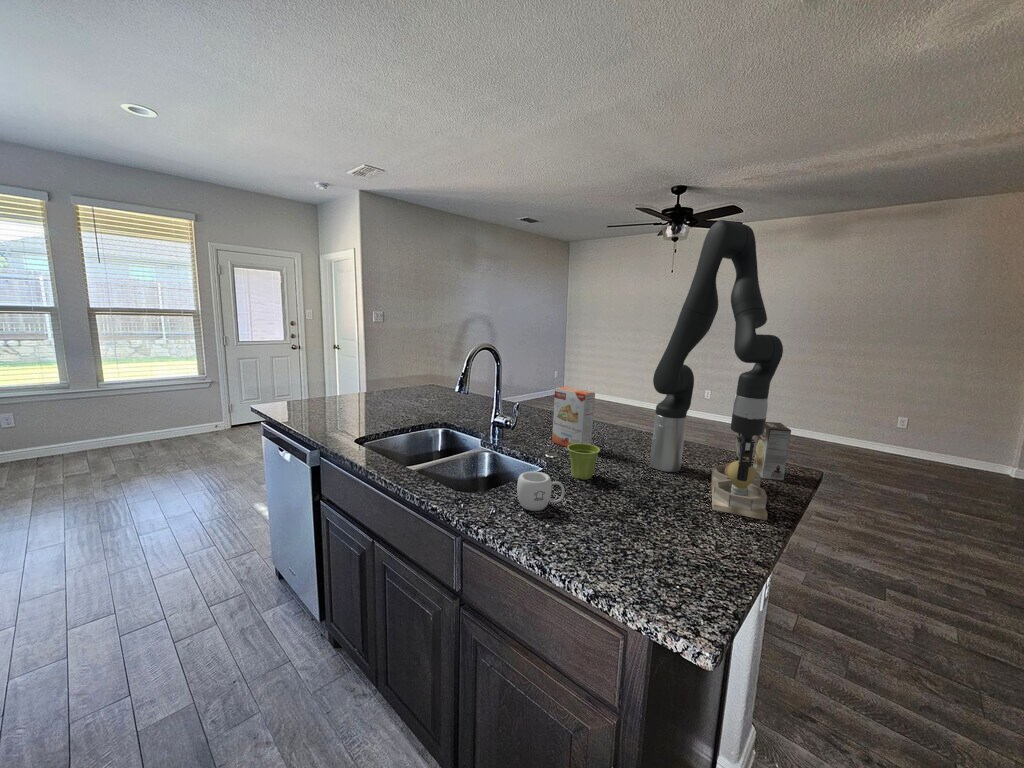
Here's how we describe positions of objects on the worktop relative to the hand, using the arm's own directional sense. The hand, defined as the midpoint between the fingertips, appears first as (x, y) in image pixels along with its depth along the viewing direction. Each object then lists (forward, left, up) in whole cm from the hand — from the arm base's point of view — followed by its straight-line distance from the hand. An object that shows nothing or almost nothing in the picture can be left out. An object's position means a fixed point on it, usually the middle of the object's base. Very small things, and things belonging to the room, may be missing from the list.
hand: (740, 474), depth 113 cm
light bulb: (0, +1, -7) cm, 7 cm away
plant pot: (-41, -1, -9) cm, 42 cm away
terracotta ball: (0, +13, -4) cm, 14 cm away
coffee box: (+11, +30, -8) cm, 33 cm away
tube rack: (0, +6, -8) cm, 10 cm away
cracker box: (-52, +26, -8) cm, 59 cm away
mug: (-45, -26, -9) cm, 53 cm away
